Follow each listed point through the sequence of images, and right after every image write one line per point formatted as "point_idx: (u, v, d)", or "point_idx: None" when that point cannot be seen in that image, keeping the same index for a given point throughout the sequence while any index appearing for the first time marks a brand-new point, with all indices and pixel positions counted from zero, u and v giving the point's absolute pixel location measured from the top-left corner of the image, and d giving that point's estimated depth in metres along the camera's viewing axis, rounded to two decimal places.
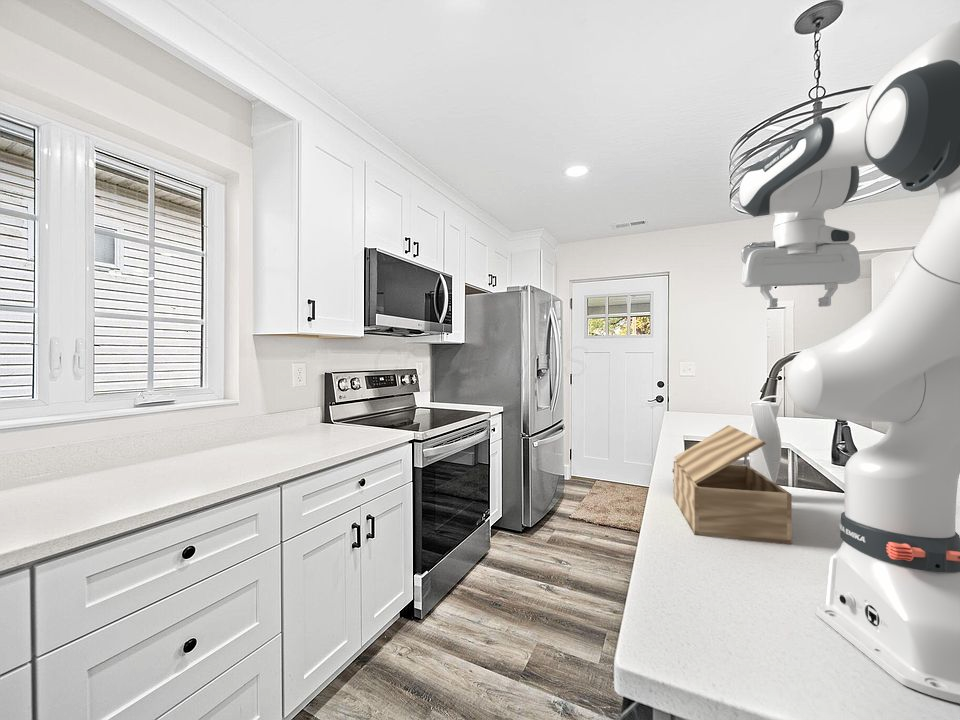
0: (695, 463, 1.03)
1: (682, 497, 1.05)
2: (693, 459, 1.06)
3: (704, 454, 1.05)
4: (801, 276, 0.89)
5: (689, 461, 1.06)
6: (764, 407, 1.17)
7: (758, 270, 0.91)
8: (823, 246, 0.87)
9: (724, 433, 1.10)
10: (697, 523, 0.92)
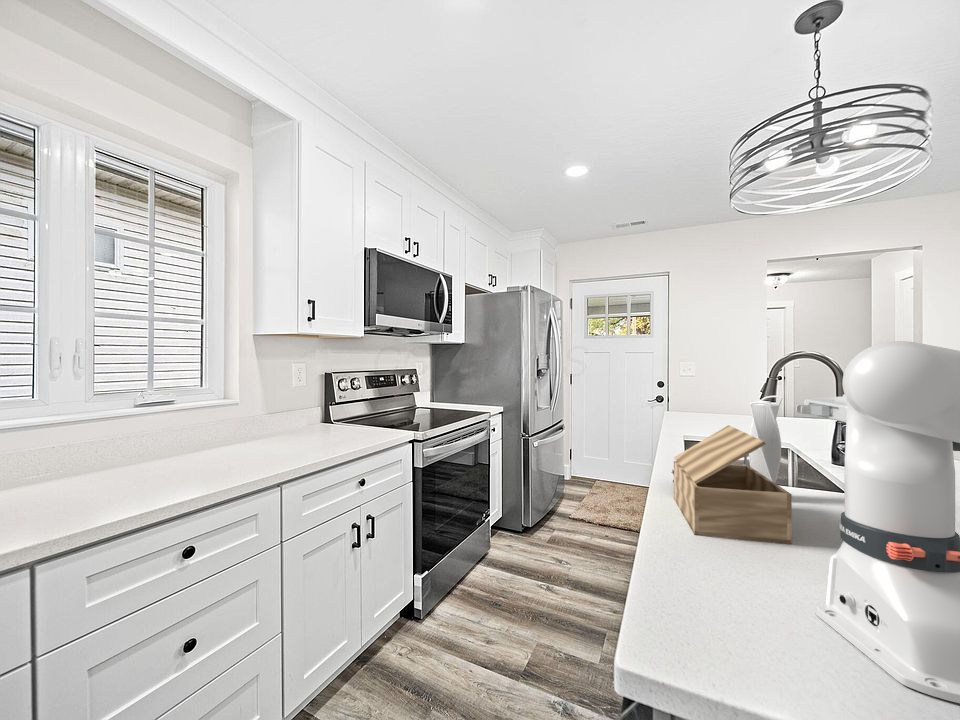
0: (695, 463, 1.03)
1: (682, 497, 1.05)
2: (693, 459, 1.06)
3: (704, 454, 1.05)
4: None
5: (689, 461, 1.06)
6: (764, 407, 1.17)
7: None
8: None
9: (724, 433, 1.10)
10: (697, 523, 0.92)
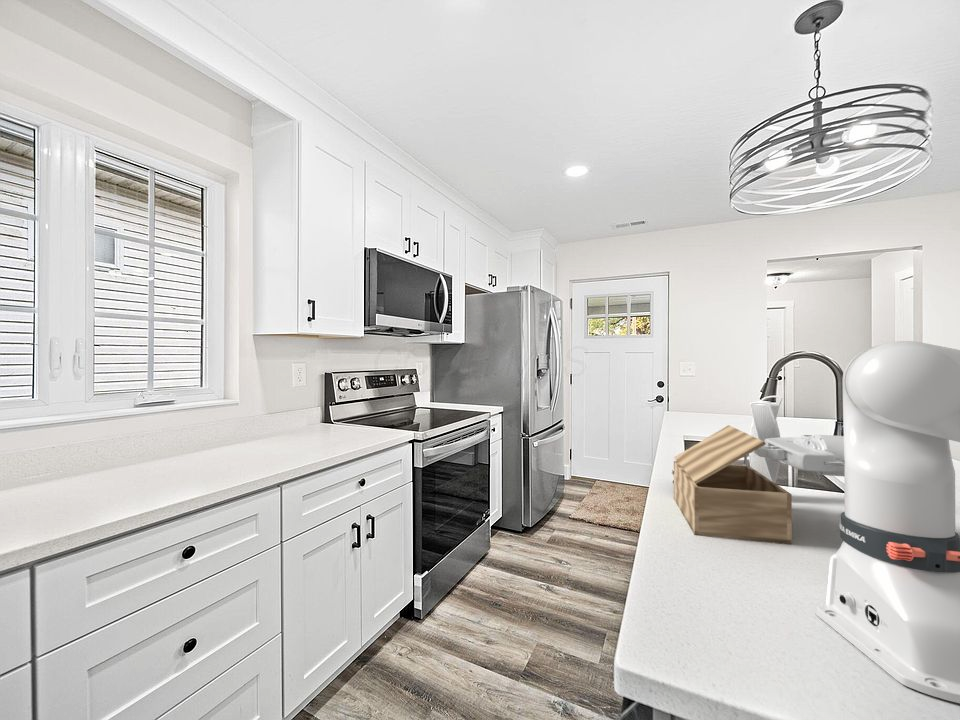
0: (695, 463, 1.03)
1: (682, 497, 1.05)
2: (693, 459, 1.06)
3: (704, 454, 1.05)
4: None
5: (689, 461, 1.06)
6: (764, 407, 1.17)
7: None
8: None
9: (724, 433, 1.10)
10: (697, 523, 0.92)
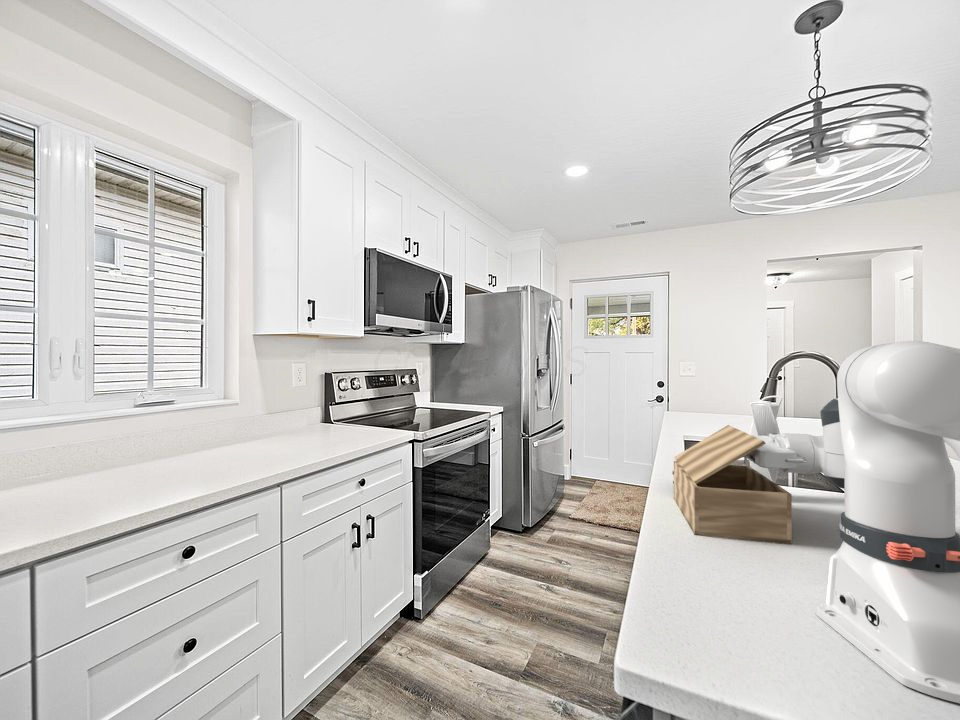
0: (695, 463, 1.03)
1: (682, 497, 1.05)
2: (693, 459, 1.06)
3: (704, 454, 1.05)
4: None
5: (689, 461, 1.06)
6: (764, 407, 1.17)
7: None
8: None
9: (724, 433, 1.10)
10: (697, 523, 0.92)
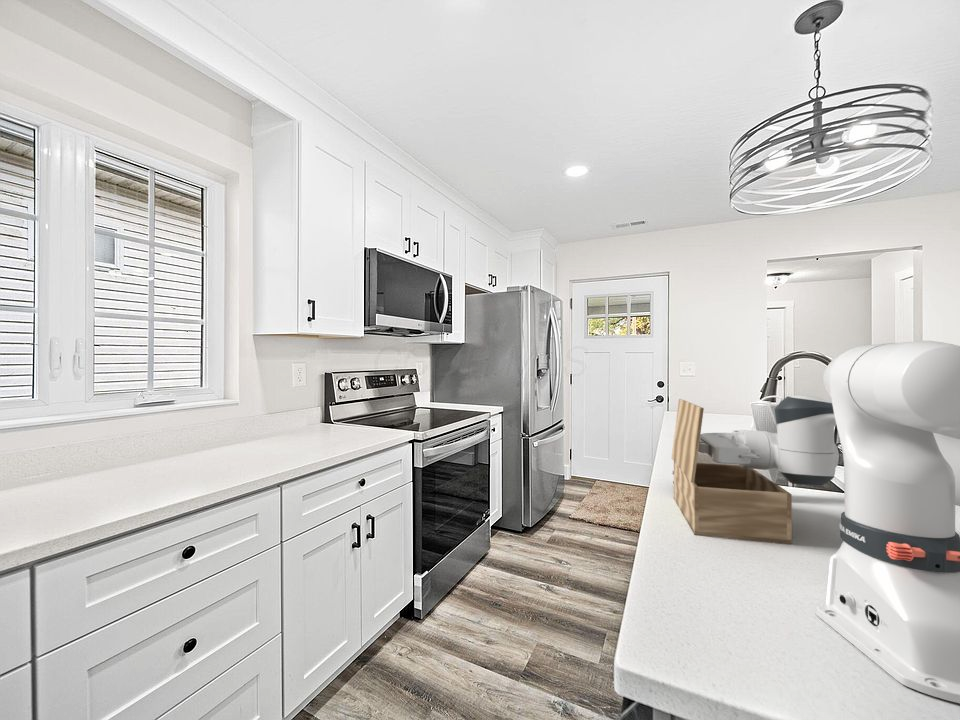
0: (683, 458, 1.03)
1: (682, 497, 1.05)
2: (680, 454, 1.07)
3: (682, 443, 1.06)
4: None
5: (679, 457, 1.07)
6: (764, 407, 1.17)
7: None
8: None
9: (681, 410, 1.12)
10: (697, 523, 0.92)
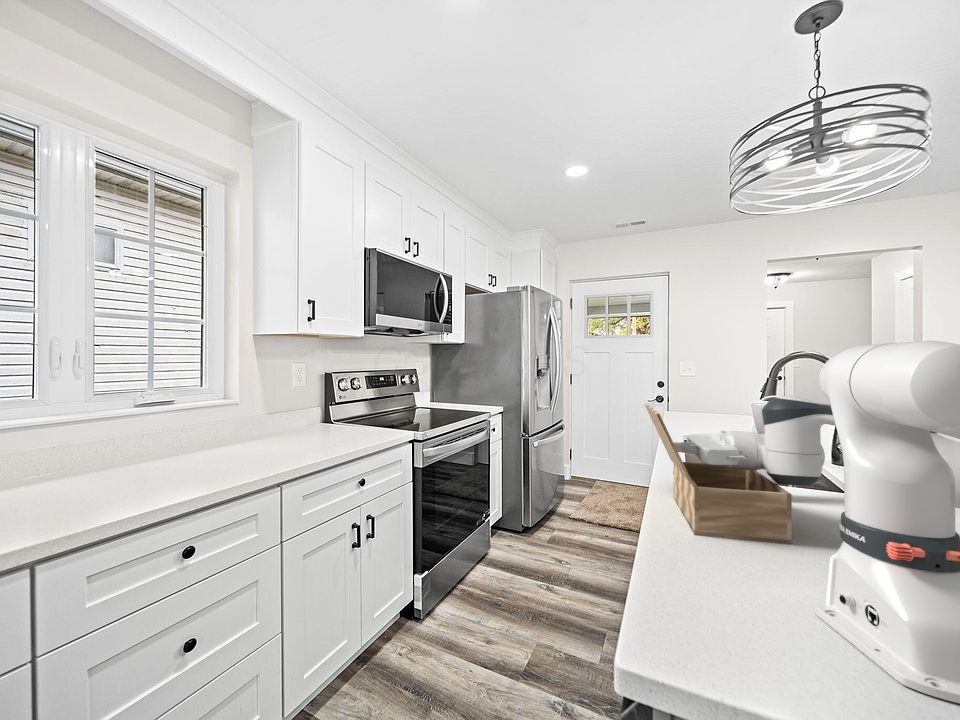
0: (675, 460, 1.04)
1: (682, 497, 1.05)
2: (672, 456, 1.07)
3: (667, 446, 1.07)
4: None
5: (673, 459, 1.07)
6: None
7: None
8: None
9: (650, 415, 1.14)
10: (697, 523, 0.92)
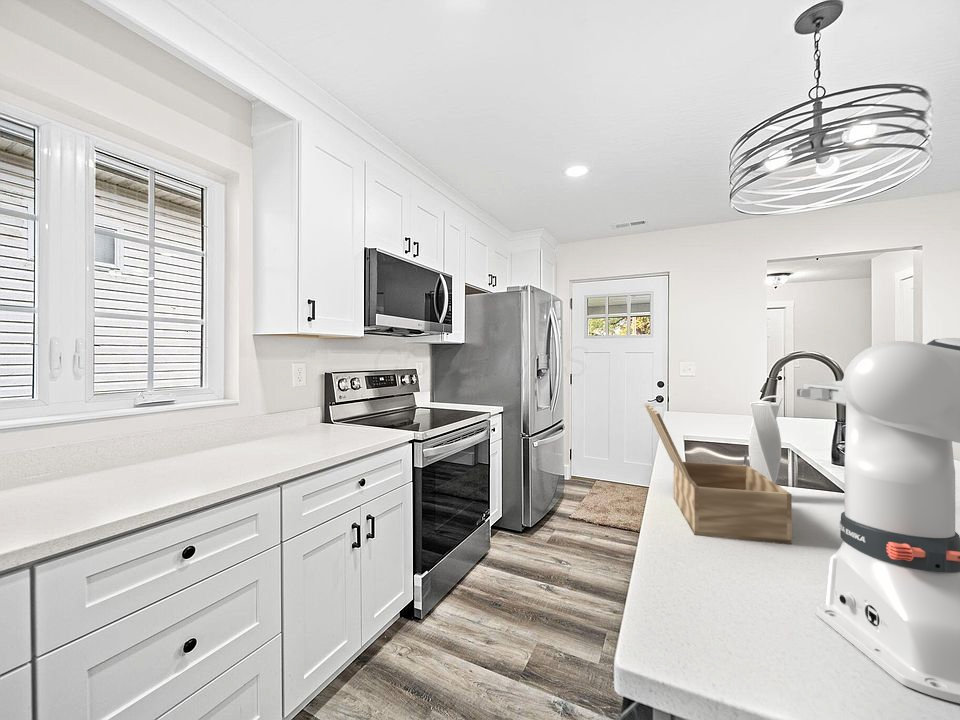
0: (675, 460, 1.04)
1: (682, 497, 1.05)
2: (672, 456, 1.07)
3: (667, 446, 1.07)
4: None
5: (673, 459, 1.07)
6: (764, 407, 1.17)
7: None
8: None
9: (650, 415, 1.14)
10: (697, 523, 0.92)
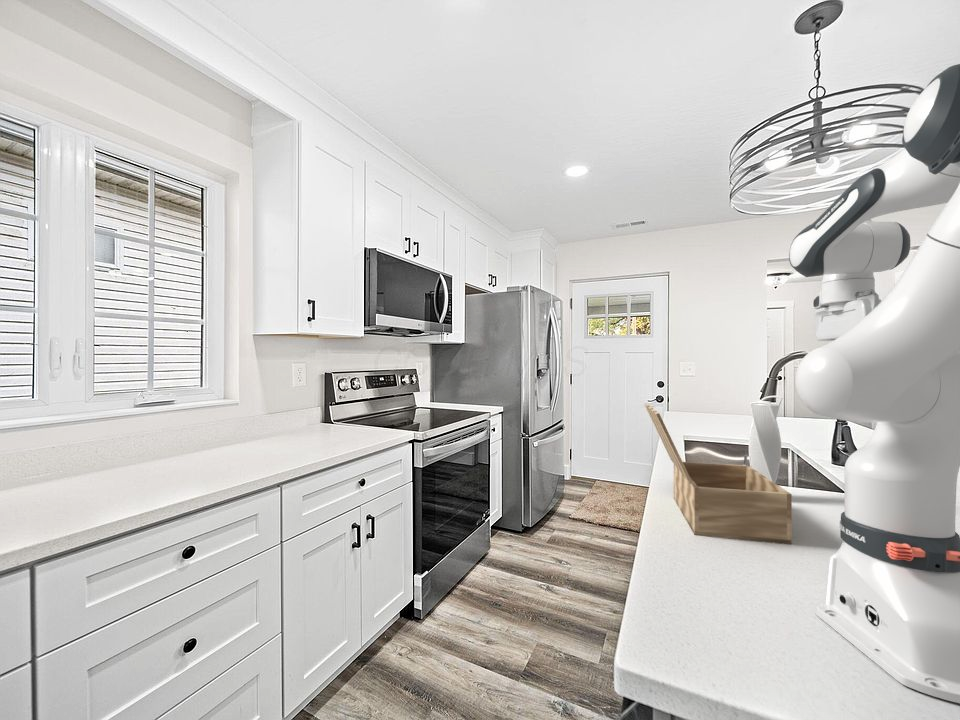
0: (675, 460, 1.04)
1: (682, 497, 1.05)
2: (672, 456, 1.07)
3: (667, 446, 1.07)
4: None
5: (673, 459, 1.07)
6: (764, 407, 1.17)
7: None
8: None
9: (650, 415, 1.14)
10: (697, 523, 0.92)
